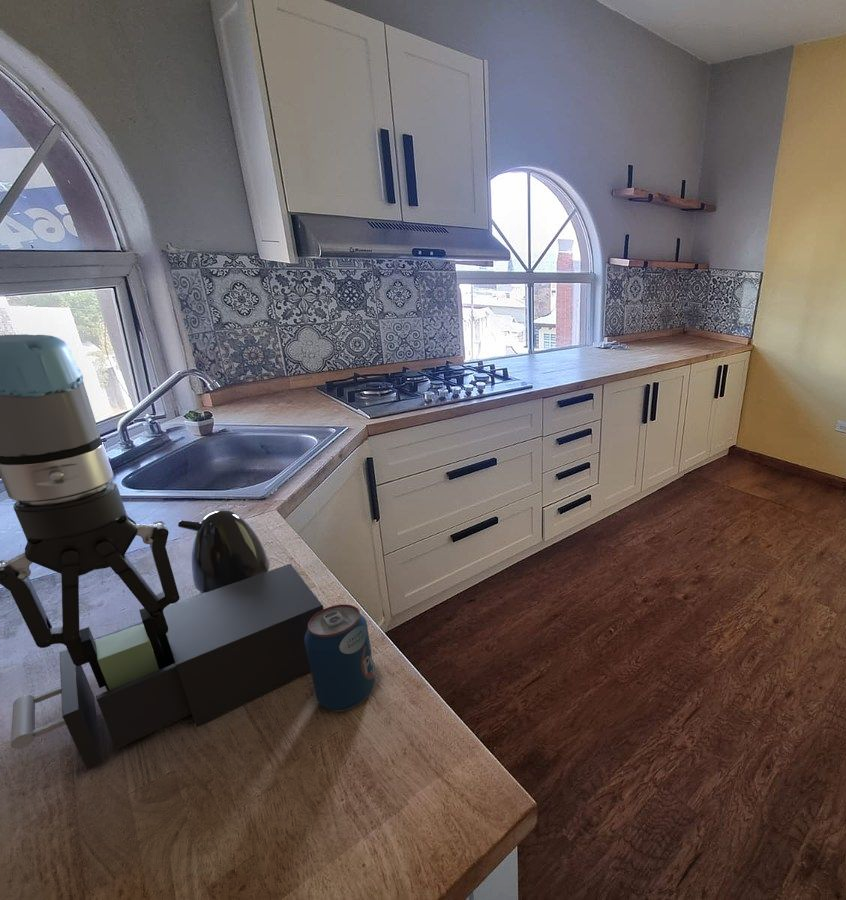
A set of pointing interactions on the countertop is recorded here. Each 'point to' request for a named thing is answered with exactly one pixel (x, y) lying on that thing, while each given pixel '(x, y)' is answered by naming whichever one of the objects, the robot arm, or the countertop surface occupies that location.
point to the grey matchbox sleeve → (241, 640)
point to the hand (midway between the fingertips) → (132, 668)
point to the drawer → (106, 707)
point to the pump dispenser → (224, 551)
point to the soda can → (340, 657)
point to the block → (125, 656)
